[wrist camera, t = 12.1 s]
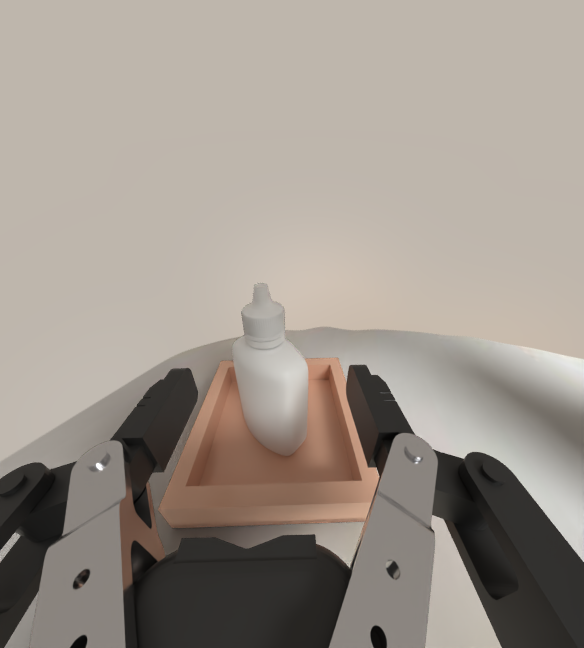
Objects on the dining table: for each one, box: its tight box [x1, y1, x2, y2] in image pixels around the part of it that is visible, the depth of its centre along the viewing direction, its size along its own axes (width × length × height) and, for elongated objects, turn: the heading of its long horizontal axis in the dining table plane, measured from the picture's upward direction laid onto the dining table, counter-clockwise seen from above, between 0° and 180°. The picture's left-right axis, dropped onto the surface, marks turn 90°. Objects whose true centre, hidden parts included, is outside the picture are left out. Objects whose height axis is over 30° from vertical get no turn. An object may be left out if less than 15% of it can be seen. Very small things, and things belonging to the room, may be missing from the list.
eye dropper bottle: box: [232, 283, 308, 456], centre depth 14 cm, size 4×6×12 cm
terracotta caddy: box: [158, 358, 379, 528], centre depth 17 cm, size 12×12×2 cm
